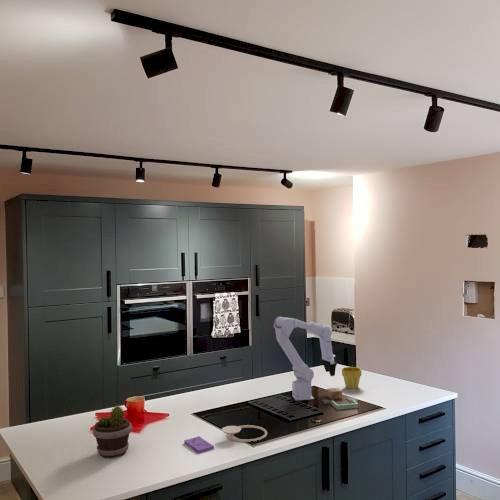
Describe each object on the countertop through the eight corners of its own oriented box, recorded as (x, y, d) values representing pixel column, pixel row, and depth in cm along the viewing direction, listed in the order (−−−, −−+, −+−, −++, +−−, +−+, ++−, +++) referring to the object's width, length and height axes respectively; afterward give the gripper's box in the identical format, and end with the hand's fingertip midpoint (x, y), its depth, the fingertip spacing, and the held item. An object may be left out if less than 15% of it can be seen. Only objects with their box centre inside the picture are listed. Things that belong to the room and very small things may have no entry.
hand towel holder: (275, 425, 212) (235, 437, 200) (275, 435, 212) (236, 449, 200) (250, 414, 226) (211, 426, 213) (250, 424, 226) (211, 436, 213)
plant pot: (363, 389, 273) (363, 371, 273) (344, 389, 273) (343, 371, 273) (359, 384, 283) (359, 366, 283) (340, 384, 284) (340, 366, 284)
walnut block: (330, 399, 258) (330, 391, 258) (327, 396, 264) (327, 388, 264) (342, 398, 259) (342, 391, 258) (338, 395, 264) (338, 387, 264)
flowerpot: (85, 454, 198) (84, 402, 198) (121, 442, 209) (119, 393, 209) (104, 465, 188) (102, 410, 187) (140, 452, 198) (139, 400, 198)
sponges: (199, 440, 210) (199, 435, 210) (214, 450, 199) (214, 445, 199) (183, 444, 206) (183, 440, 206) (198, 454, 196) (198, 449, 196)
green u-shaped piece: (331, 410, 241) (331, 405, 241) (322, 401, 255) (321, 397, 255) (364, 407, 244) (363, 403, 244) (353, 398, 258) (352, 394, 258)
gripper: (338, 350, 262) (342, 376, 263) (329, 343, 276) (333, 368, 277) (325, 353, 261) (329, 379, 262) (316, 346, 275) (320, 370, 276)
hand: (330, 373), depth 270 cm, fingers open, 7 cm apart
